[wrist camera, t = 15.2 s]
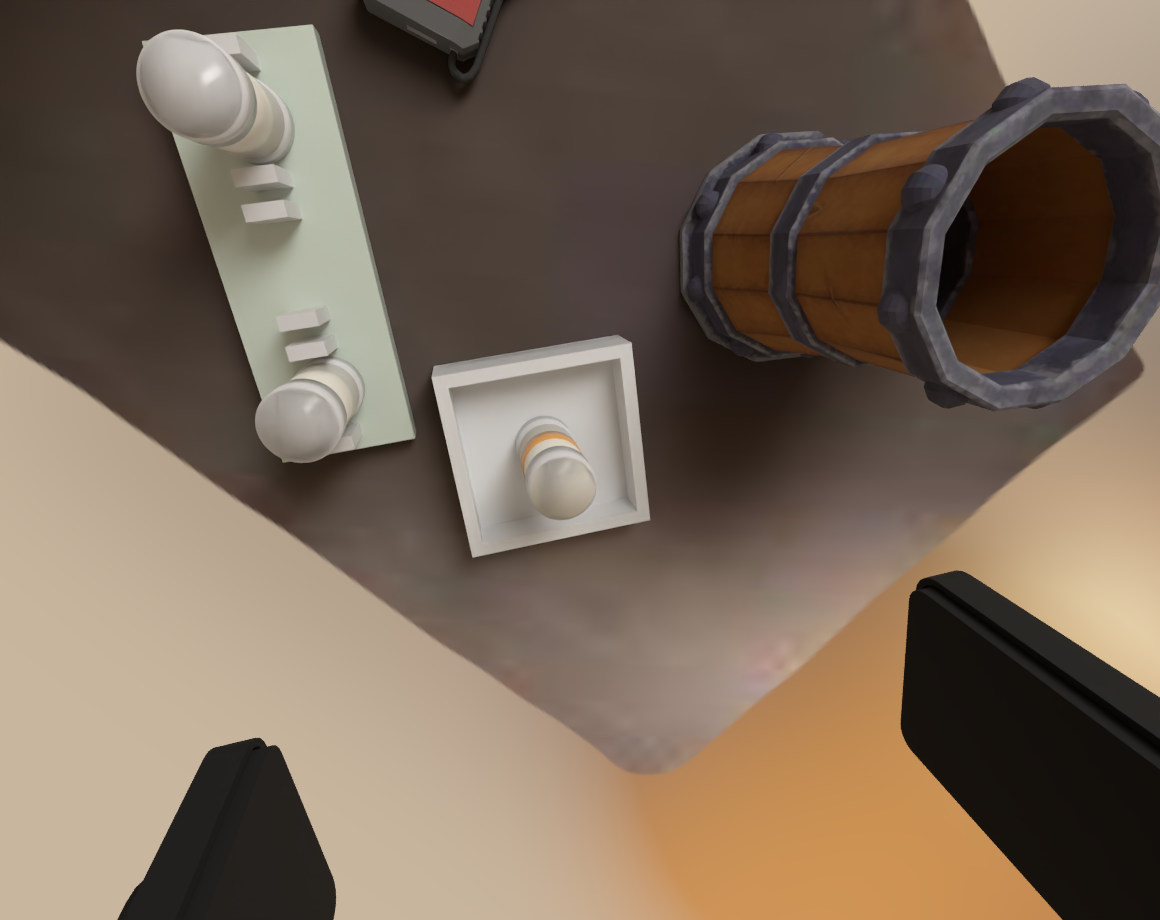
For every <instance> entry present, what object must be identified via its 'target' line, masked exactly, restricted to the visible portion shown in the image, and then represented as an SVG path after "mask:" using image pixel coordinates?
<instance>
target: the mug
mask: <svg viewBox="0 0 1160 920" xmlns="http://www.w3.org/2000/svg"><path fill="white" fill-rule="evenodd" d="M680 286H681V293H682V295H683V297H684V298H685V300H686V302H687V304H688V305H689V307H690V309H691V311H692V312H693V314H694V316H695V317H696V319H697V321H698V323H699V324H700V326H701V328H702V329H703V331H704V333H705V335H706V336H707V338H708V339H710V340H712V341H714V342H716V343H718V344H720V345H722V346H724V347H726V348H728V349H730V350H732V352H733V353H734V354H736V355H738V356H740V357H746V358H748V359H750V360H752V361H754V362H760V361H769V360H777V359H786V358H794V357H805V358H813V357H815V356H825V357H827V358H829V359H831V360H833V361H835V362H838V363H841V364H845V365H848V366H851V367H861V366H869V365H877V366H880V367H883V368H887V369H890V370H894V371H897V372H900V373H904V374H907V375H911V376H914V377H917V378H919V379H920V380H922V381H924V382H925V385H924V389H925V392H926V395H927V398H928V399H929V400H930V401H931V402H933V403H935V404H937V405H939V406H941V407H943V408H952V407H956V406H960V405H964V404H966V403H969V404H972V405H976V406H979V407H982V408H985V409H988V410H992V411H1001V410H1009V409H1016V408H1023V407H1027V408H1032V409H1038V408H1042V407H1045V406H1047V405H1049V404H1052V403H1059V402H1061V401H1062V400H1064V399H1065V398H1067V397H1068V396H1070V395H1071V394H1073V393H1074V392H1075V391H1077V390H1078V389H1080V388H1081V387H1083V386H1084V385H1085V384H1087V383H1088V382H1090V381H1091V380H1093V379H1094V378H1096V377H1097V376H1098V375H1100V374H1101V373H1103V372H1104V371H1106V370H1107V369H1109V368H1110V367H1111V366H1113V365H1114V364H1116V363H1117V362H1119V361H1120V360H1122V359H1123V358H1124V357H1125V356H1126V354H1127V353H1128V351H1129V350H1130V348H1131V347H1132V345H1133V344H1134V342H1135V341H1136V339H1137V338H1138V336H1139V335H1140V333H1141V332H1142V331H1143V329H1144V328H1145V326H1146V325H1147V324H1148V322H1149V321H1150V319H1151V318H1152V316H1153V315H1154V313H1155V312H1156V310H1157V309H1158V308H1159V306H1160V114H1159V113H1158V112H1157V111H1156V110H1155V109H1154V108H1153V107H1151V106H1150V105H1149V102H1148V100H1147V99H1146V98H1145V97H1144V96H1143V95H1142V94H1140V93H1139V92H1136V91H1133V90H1132V89H1131V88H1130V87H1128V86H1127V85H1126V84H1113V85H1094V86H1076V87H1075V86H1073V87H1054V88H1051V87H1050V85H1049V84H1047V83H1045V82H1043V81H1041V80H1039V79H1037V78H1034V77H1033V78H1026V79H1023V80H1021V81H1018V82H1015V83H1013V84H1011V85H1009V86H1007V87H1005V88H1004V90H1003V91H1002V92H1001V93H1000V94H999V96H998V97H997V98H996V100H995V101H994V102H993V104H992V108H990V109H989V110H988V111H986V112H985V113H983V114H982V115H981V116H979V117H978V118H976V119H975V120H971V121H967V122H962V123H958V124H954V125H950V126H946V127H942V128H938V129H934V130H929V131H918V132H902V133H885V134H872V135H868V136H865V137H861V138H857V139H853V140H842V141H838V140H836V139H835V138H828V137H826V136H825V135H823V134H822V133H820V132H819V131H809V132H792V133H775V132H771V133H768V134H761V135H758V136H756V137H755V138H754V139H752V140H751V141H750V142H748V143H747V144H745V145H744V146H743V147H741V148H740V149H739V150H737V151H736V152H735V153H733V154H732V155H731V156H729V157H728V158H727V159H725V160H724V161H722V162H721V163H720V164H718V165H717V166H716V167H714V168H713V169H712V170H710V171H709V172H708V173H707V175H706V177H705V179H704V181H703V183H702V185H701V187H700V189H699V191H698V193H697V195H696V198H695V200H694V202H693V204H692V206H691V208H690V210H689V212H688V214H687V216H686V218H685V220H684V223H683V225H682V227H681V229H680Z"/></svg>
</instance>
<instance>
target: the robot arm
mask: <svg viewBox="0 0 1160 920" xmlns="http://www.w3.org/2000/svg"><path fill="white" fill-rule="evenodd" d="M901 730H902V734H903V737H904V739H905V741H906V743H907V745H908V747H909V748H910V749H911V751H912V752H913V753H914V754H915V755H916V756H917V757H918V759H919V760H920V761H921V762H922V763H923V764H924V765H925V766H926V767H927V769H928V770H929V771H930V772H931V773H932V774H933V775H934V776H935V778H937V780H938V781H939V782H940V783H941V784H942V785H943V786H944V788H945V789H946V790H947V791H948V792H949V793H950V794H951V795H952V797H953V798H954V799H955V800H956V801H957V802H958V803H959V804H960V805H961V807H962V808H963V809H964V810H965V811H966V812H967V813H968V814H969V816H970V817H971V818H972V819H973V820H974V821H975V822H976V823H977V825H978V826H979V827H980V828H981V829H982V830H983V831H984V832H985V834H987V836H988V837H989V838H990V839H991V840H992V841H993V842H994V844H995V845H996V846H997V847H998V848H999V849H1000V850H1001V851H1002V852H1003V853H1004V855H1005V856H1006V857H1007V858H1008V859H1009V860H1010V861H1011V863H1013V865H1014V866H1015V867H1016V868H1017V869H1018V870H1019V871H1020V873H1021V874H1022V875H1023V876H1024V877H1025V878H1026V879H1027V881H1028V882H1029V883H1030V884H1031V885H1032V886H1033V887H1034V888H1035V889H1036V891H1038V893H1039V894H1040V895H1041V896H1042V897H1043V898H1044V899H1045V901H1046V902H1047V903H1048V904H1049V905H1050V906H1051V907H1052V908H1053V910H1054V911H1055V912H1056V913H1057V914H1058V915H1059V916H1060V917H1061V918H1062V920H1160V697H1158V696H1157V695H1155V694H1153V693H1152V692H1150V691H1149V690H1147V689H1146V688H1144V687H1143V686H1141V685H1139V684H1138V683H1136V682H1135V681H1133V680H1132V679H1130V678H1129V677H1127V676H1126V675H1124V674H1122V673H1121V672H1119V671H1118V670H1116V669H1115V668H1113V667H1111V666H1110V665H1108V664H1107V663H1105V662H1104V661H1102V660H1101V659H1099V658H1097V657H1096V656H1095V655H1093V654H1092V653H1090V652H1089V651H1087V650H1085V649H1084V648H1082V647H1081V646H1079V645H1078V644H1076V643H1075V642H1073V641H1071V640H1070V639H1068V638H1067V637H1065V636H1064V635H1062V634H1061V633H1059V632H1058V631H1056V630H1055V629H1053V628H1051V627H1050V626H1048V625H1047V624H1045V623H1044V622H1042V621H1040V620H1039V619H1037V618H1036V617H1034V616H1033V615H1031V614H1030V613H1028V612H1027V611H1025V610H1024V609H1022V608H1020V607H1019V606H1017V605H1016V604H1014V603H1013V602H1011V601H1010V600H1008V599H1007V598H1005V597H1003V596H1002V595H1000V594H999V593H997V592H996V591H994V590H993V589H991V588H990V587H988V586H986V585H985V584H983V583H982V582H980V581H979V580H977V579H976V578H974V577H973V576H971V575H969V574H967V573H965V572H963V571H953V572H948V573H944V574H940V575H936V576H931V577H927V578H924V579H922V580H920V581H919V583H918V584H917V587H916V591H913V592H912V593H911V595H910V598H909V610H908V625H907V639H906V654H905V668H904V682H903V697H902V711H901ZM335 906H336V889H335V884H334V879H333V876H332V874H331V872H330V869H329V867H328V864H327V862H326V859H325V857H324V855H323V852H322V850H321V847H320V845H319V842H318V840H317V838H316V835H315V833H314V830H313V828H312V825H311V823H310V821H309V818H308V816H307V813H306V811H305V809H304V806H303V803H302V801H301V799H300V796H299V794H298V791H297V789H296V786H295V784H294V782H293V779H292V777H291V774H290V772H289V769H288V767H287V765H286V762H285V760H284V757H283V755H282V753H281V751H280V749H279V748H278V747H277V746H276V745H274V746H268V747H267V746H266V744H265V742H264V741H263V740H262V739H261V738H253V739H249V740H245V741H240V742H236V743H232V744H228V745H224V746H220V747H215V748H213V749H211V750H210V751H208V753H207V754H206V756H205V758H204V759H203V761H202V763H201V765H200V767H199V769H198V771H197V773H196V775H195V777H194V779H193V781H192V783H191V785H190V787H189V789H188V791H187V793H186V795H185V797H184V799H183V801H182V803H181V805H180V807H179V809H178V812H177V813H176V815H175V817H174V819H173V822H172V823H171V825H170V827H169V829H168V832H167V834H166V836H165V838H164V840H163V842H162V844H161V846H160V848H159V850H158V852H157V854H156V856H155V858H154V860H153V862H152V864H151V866H150V868H149V870H148V872H147V874H146V876H145V878H144V880H143V881H142V882H141V883H140V884H139V885H138V886H137V887H136V888H135V889H134V891H133V893H132V894H131V896H130V897H129V899H128V900H127V902H126V904H125V906H124V908H123V910H122V912H121V914H120V916H119V918H118V920H333V919H334V913H335Z"/></svg>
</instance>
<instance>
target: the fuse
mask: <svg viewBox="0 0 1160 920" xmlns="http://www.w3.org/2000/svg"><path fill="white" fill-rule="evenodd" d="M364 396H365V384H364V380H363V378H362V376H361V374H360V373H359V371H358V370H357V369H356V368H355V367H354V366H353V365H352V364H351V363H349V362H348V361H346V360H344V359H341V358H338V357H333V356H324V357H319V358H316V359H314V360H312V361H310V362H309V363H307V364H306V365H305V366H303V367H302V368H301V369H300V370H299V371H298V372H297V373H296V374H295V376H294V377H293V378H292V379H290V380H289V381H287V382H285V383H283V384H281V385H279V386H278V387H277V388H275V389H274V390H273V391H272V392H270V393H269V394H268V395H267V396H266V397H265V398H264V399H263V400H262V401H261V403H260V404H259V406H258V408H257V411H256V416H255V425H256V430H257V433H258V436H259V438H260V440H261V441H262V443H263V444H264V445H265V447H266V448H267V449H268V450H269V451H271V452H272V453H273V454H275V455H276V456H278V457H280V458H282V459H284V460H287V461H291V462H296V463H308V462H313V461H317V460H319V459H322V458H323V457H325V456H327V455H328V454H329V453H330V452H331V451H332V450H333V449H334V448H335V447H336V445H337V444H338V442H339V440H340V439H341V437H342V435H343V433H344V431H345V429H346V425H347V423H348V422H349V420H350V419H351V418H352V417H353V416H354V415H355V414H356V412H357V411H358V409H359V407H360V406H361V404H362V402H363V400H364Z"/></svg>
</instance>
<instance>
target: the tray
mask: <svg viewBox="0 0 1160 920" xmlns="http://www.w3.org/2000/svg"><path fill="white" fill-rule="evenodd" d="M432 382H433V386H434V391H435V395H436V399H437V404H438V408H439V413H440V417H441V421H442V426H443V430H444V434H445V439H446V443H447V448H448V452H449V456H450V461H451V465H452V470H453V474H454V478H455V483H456V487H457V491H458V496H459V500H460V505H461V509H462V513H463V518H464V522H465V526H466V531H467V535H468V540H469V544H470V548H471V553H472V557H478V556H483V555H487V554H492V553H497V552H502V551H506V550H511V549H516V548H520V547H525V546H530V545H535V544H539V543H544V542H549V541H553V540H558V539H563V538H568V537H572V536H577V535H582V534H586V533H591V532H596V531H601V530H605V529H610V528H615V527H619V526H624V525H629V524H634V523H638V522H643V521H648V520H650V514H649V504H648V495H647V485H646V476H645V466H644V457H643V447H642V438H641V428H640V419H639V409H638V400H637V390H636V381H635V371H634V362H633V352H632V343H631V342H629V341H627V340H626V339H624V338H622V337H620V336H619V335H613V336H608V337H602V338H596V339H590V340H584V341H578V342H572V343H567V344H561V345H555V346H549V347H543V348H537V349H531V350H525V351H520V352H514V353H508V354H502V355H496V356H490V357H484V358H479V359H473V360H467V361H461V362H455V363H449V364H443V365H437V366H434V368H433V372H432ZM538 416H551V417H555V418H557V419H559V420H561V421H562V422H563V423H564V424H565V425H566V426H567V427H568V429H569V431H570V432H571V434H572V436H573V438H574V440H575V443H576V444H577V446H578V447H579V449H580V451H581V453H582V455H583V456H584V457H585V458H586V459H587V461H588V463H589V464H590V466H591V468H592V469H593V471H594V473H595V476H596V479H597V492H596V496H595V498H594V500H593V502H592V504H591V505H590V506H589V508H588V509H587V510H586V511H584V512H583V513H582V514H580V515H579V516H577V517H574V518H572V519H568V520H553V519H549V518H547V517H545V516H543V515H541V514H540V513H539V512H537V511H536V510H535V508H534V507H533V506H532V504H531V502H530V499H529V496H528V492H527V488H526V485H525V478H524V474H523V471H522V467H521V464H520V462H519V459H518V456H517V452H516V448H515V440H516V436H517V433H518V431H519V430H520V428H521V427H522V426H523V425H524V424H525V423H526V422H527V421H528V420H530V419H532V418H535V417H538Z"/></svg>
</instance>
